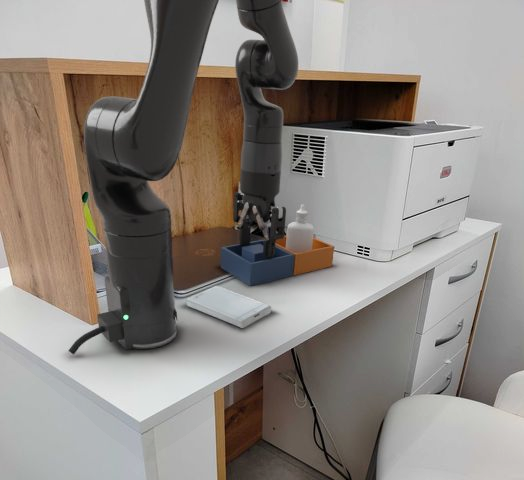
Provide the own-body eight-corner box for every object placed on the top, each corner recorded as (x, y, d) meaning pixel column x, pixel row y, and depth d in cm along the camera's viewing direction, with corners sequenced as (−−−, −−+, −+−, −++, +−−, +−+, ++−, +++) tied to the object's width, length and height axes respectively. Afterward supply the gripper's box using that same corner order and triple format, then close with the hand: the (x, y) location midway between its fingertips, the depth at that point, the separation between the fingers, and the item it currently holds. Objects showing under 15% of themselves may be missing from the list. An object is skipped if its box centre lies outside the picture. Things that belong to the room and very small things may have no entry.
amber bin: (293, 275, 102) (295, 254, 100) (263, 259, 109) (264, 239, 107) (331, 266, 108) (334, 246, 105) (300, 251, 115) (302, 232, 112)
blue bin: (250, 285, 96) (250, 264, 94) (220, 267, 103) (221, 247, 101) (292, 275, 102) (294, 254, 99) (262, 259, 109) (263, 239, 107)
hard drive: (186, 298, 86) (241, 320, 80) (217, 284, 92) (271, 304, 86) (186, 307, 87) (241, 329, 81) (217, 292, 93) (271, 312, 87)
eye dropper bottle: (293, 254, 111) (298, 200, 105) (313, 261, 108) (320, 206, 102) (281, 259, 108) (285, 204, 102) (302, 266, 105) (307, 209, 99)
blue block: (253, 275, 100) (254, 253, 97) (241, 267, 103) (241, 247, 100) (271, 271, 102) (272, 250, 100) (258, 264, 105) (259, 243, 103)
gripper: (223, 161, 94) (221, 243, 103) (267, 176, 85) (262, 266, 93) (255, 159, 98) (251, 238, 107) (301, 173, 89) (292, 259, 97)
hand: (256, 251), depth 100 cm, fingers open, 7 cm apart
